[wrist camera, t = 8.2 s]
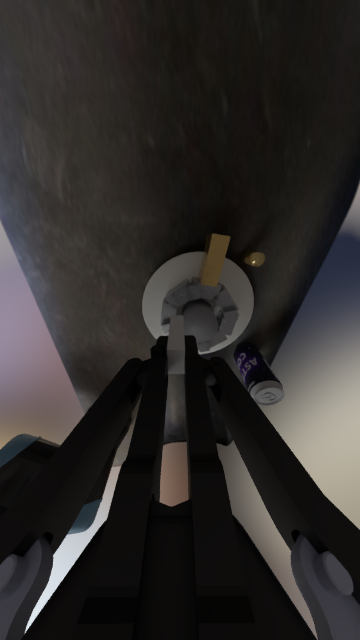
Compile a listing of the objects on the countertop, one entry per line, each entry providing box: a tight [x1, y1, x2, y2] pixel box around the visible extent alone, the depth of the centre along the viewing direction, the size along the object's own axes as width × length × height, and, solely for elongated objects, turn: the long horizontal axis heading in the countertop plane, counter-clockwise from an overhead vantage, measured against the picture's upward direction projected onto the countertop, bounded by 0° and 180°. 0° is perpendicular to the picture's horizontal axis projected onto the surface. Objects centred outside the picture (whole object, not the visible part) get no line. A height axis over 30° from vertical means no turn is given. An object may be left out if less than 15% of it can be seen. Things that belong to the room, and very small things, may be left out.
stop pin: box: [240, 250, 265, 267], centre depth 24 cm, size 2×2×5 cm
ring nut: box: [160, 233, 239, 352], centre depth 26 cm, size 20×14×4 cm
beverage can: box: [234, 344, 284, 405], centre depth 31 cm, size 6×6×12 cm
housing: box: [142, 251, 254, 354], centre depth 28 cm, size 22×22×8 cm
